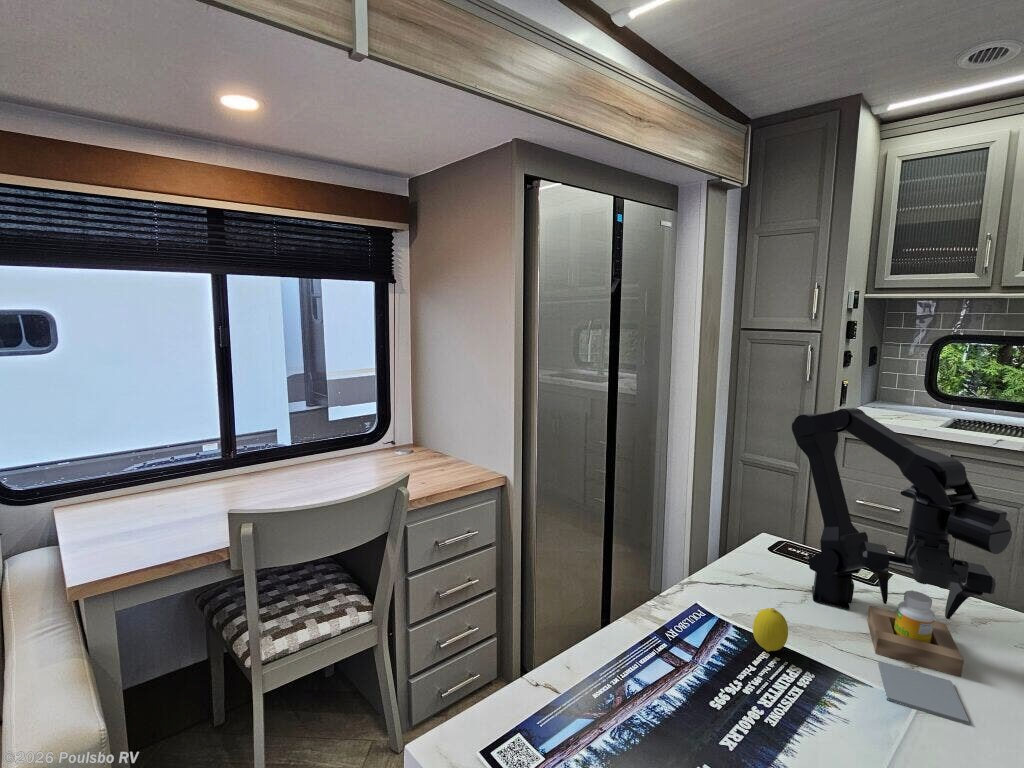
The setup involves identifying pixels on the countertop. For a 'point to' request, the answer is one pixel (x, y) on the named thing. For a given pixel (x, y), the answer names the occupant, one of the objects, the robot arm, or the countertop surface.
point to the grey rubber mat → (922, 692)
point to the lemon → (770, 629)
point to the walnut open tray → (914, 644)
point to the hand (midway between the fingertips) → (915, 610)
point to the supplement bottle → (915, 617)
